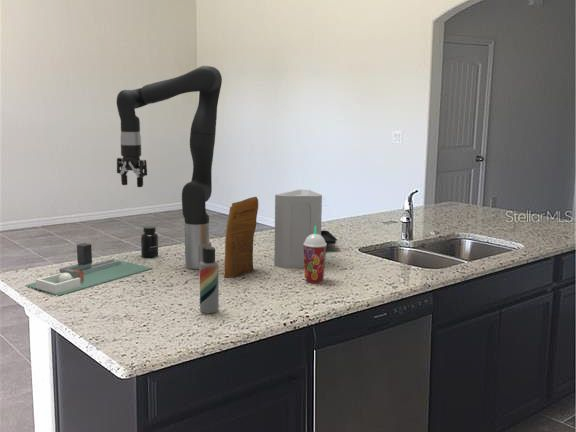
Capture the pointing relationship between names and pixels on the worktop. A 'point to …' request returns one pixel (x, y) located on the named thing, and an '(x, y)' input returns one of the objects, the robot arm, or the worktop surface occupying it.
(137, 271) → the field
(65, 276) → the ball
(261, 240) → the worktop surface
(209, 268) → the lotion bottle
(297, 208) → the paper bag
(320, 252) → the smoothie
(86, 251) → the block
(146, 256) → the supplement bottle
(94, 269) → the rail
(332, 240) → the tray
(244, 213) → the pancake mix bag
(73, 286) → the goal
